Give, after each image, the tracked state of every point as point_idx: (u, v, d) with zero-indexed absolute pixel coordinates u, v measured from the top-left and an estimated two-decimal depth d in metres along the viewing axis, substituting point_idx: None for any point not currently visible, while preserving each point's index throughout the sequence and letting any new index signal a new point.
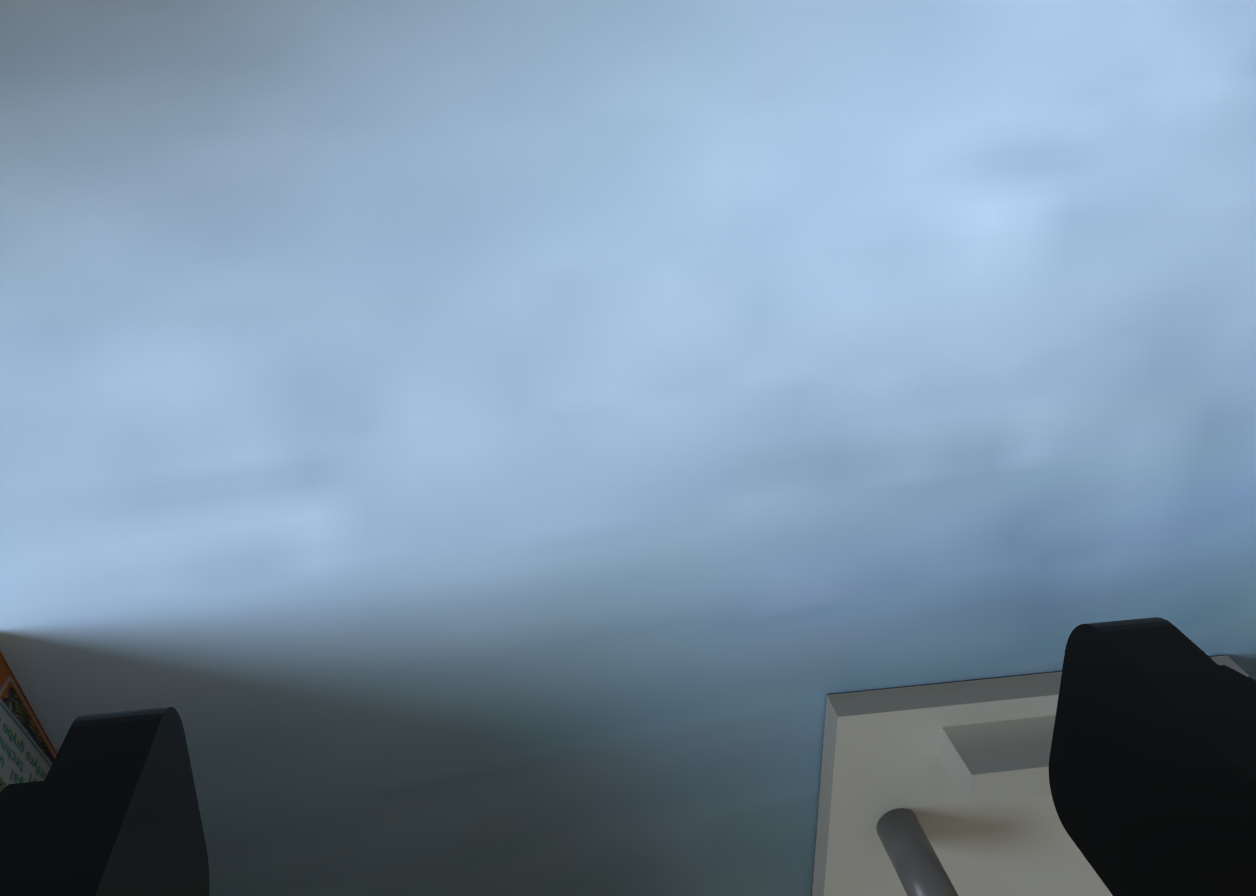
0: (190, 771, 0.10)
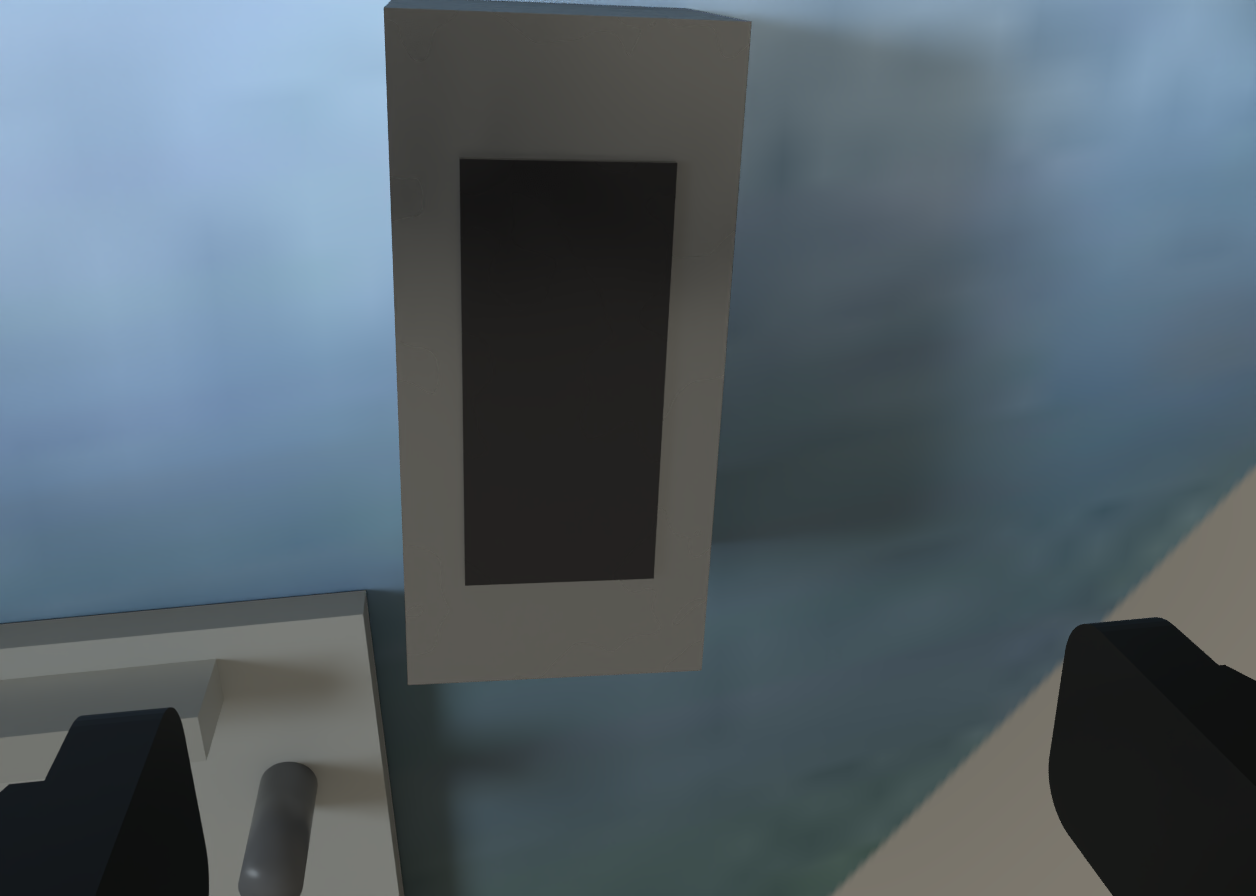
0: (190, 771, 0.10)
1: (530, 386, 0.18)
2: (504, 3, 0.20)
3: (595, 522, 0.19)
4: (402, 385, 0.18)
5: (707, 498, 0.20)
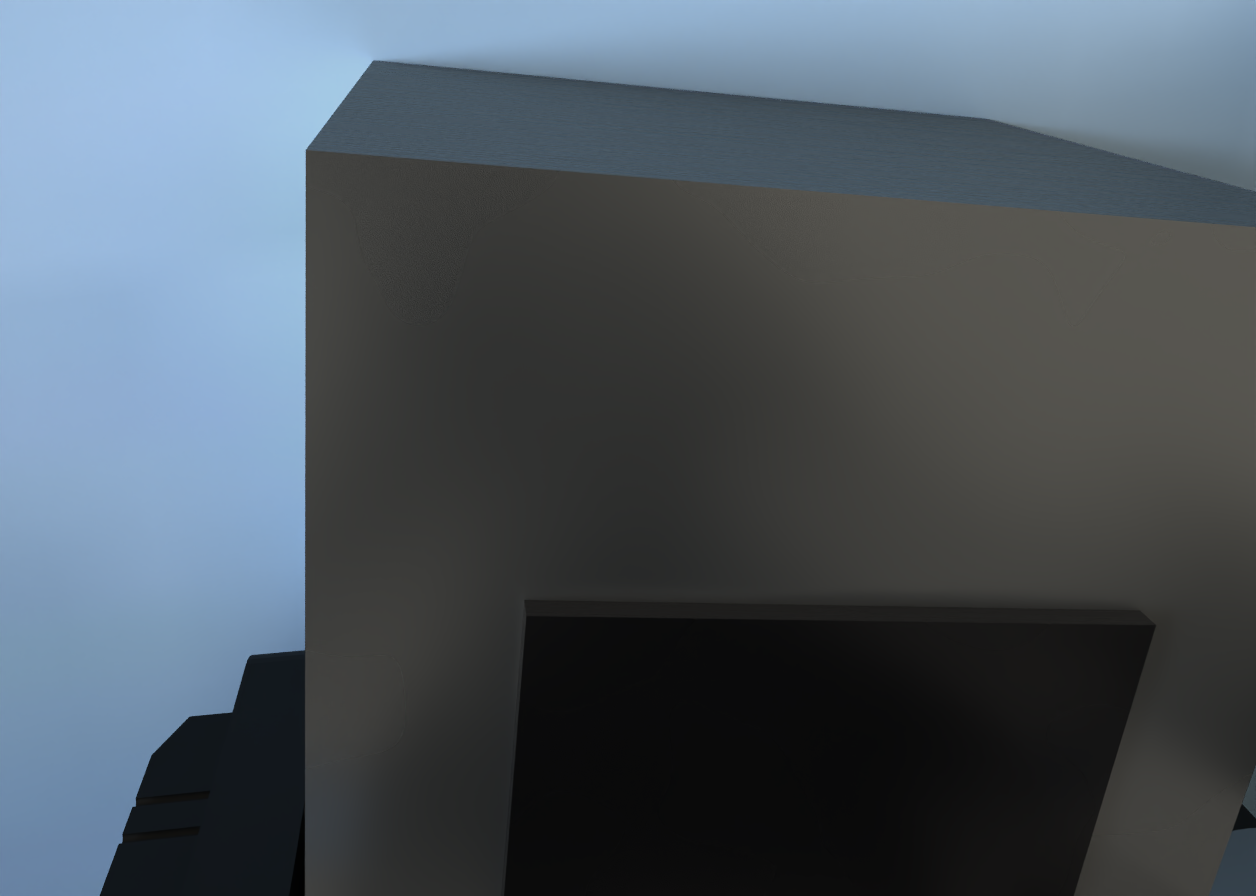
0: None
1: None
2: (631, 101, 0.08)
3: None
4: None
5: None
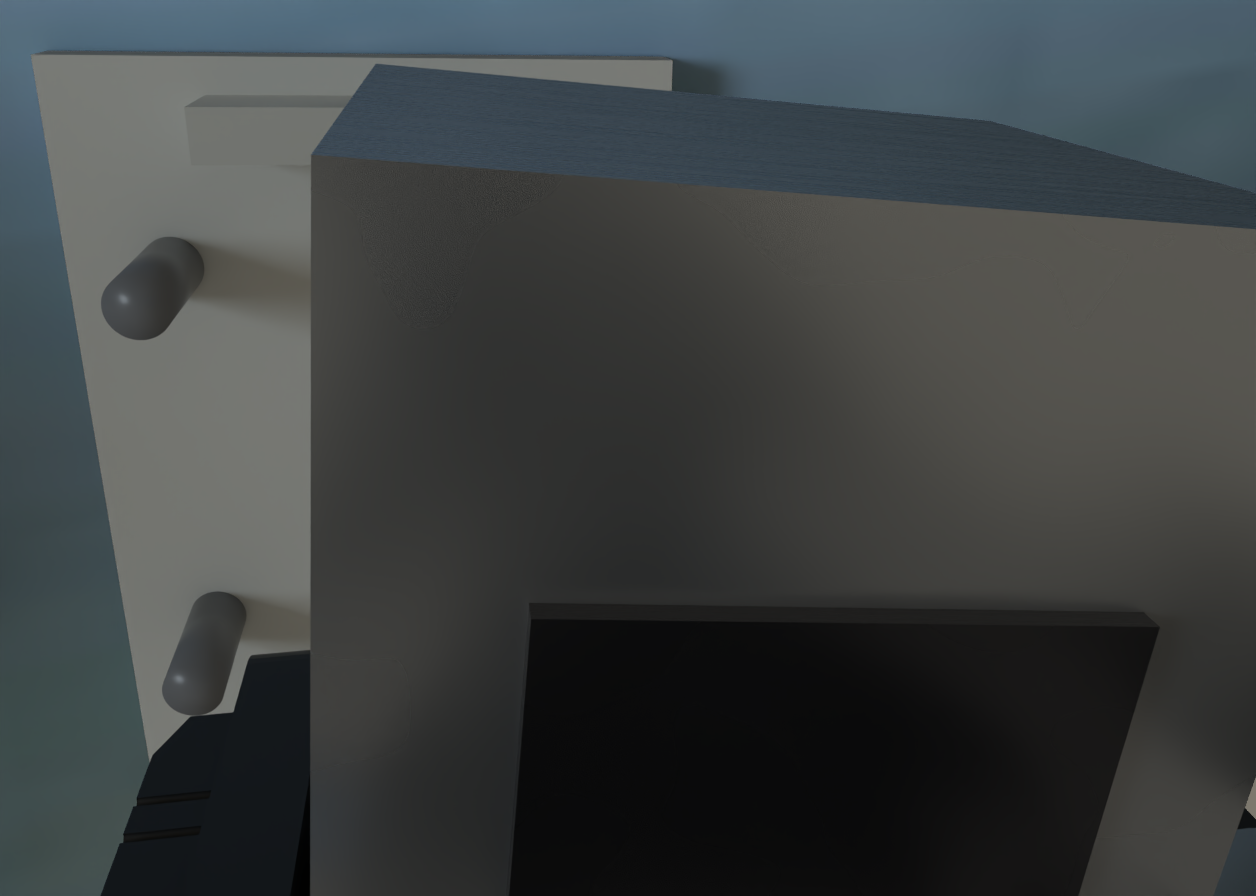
0: None
1: None
2: (634, 104, 0.08)
3: None
4: None
5: None
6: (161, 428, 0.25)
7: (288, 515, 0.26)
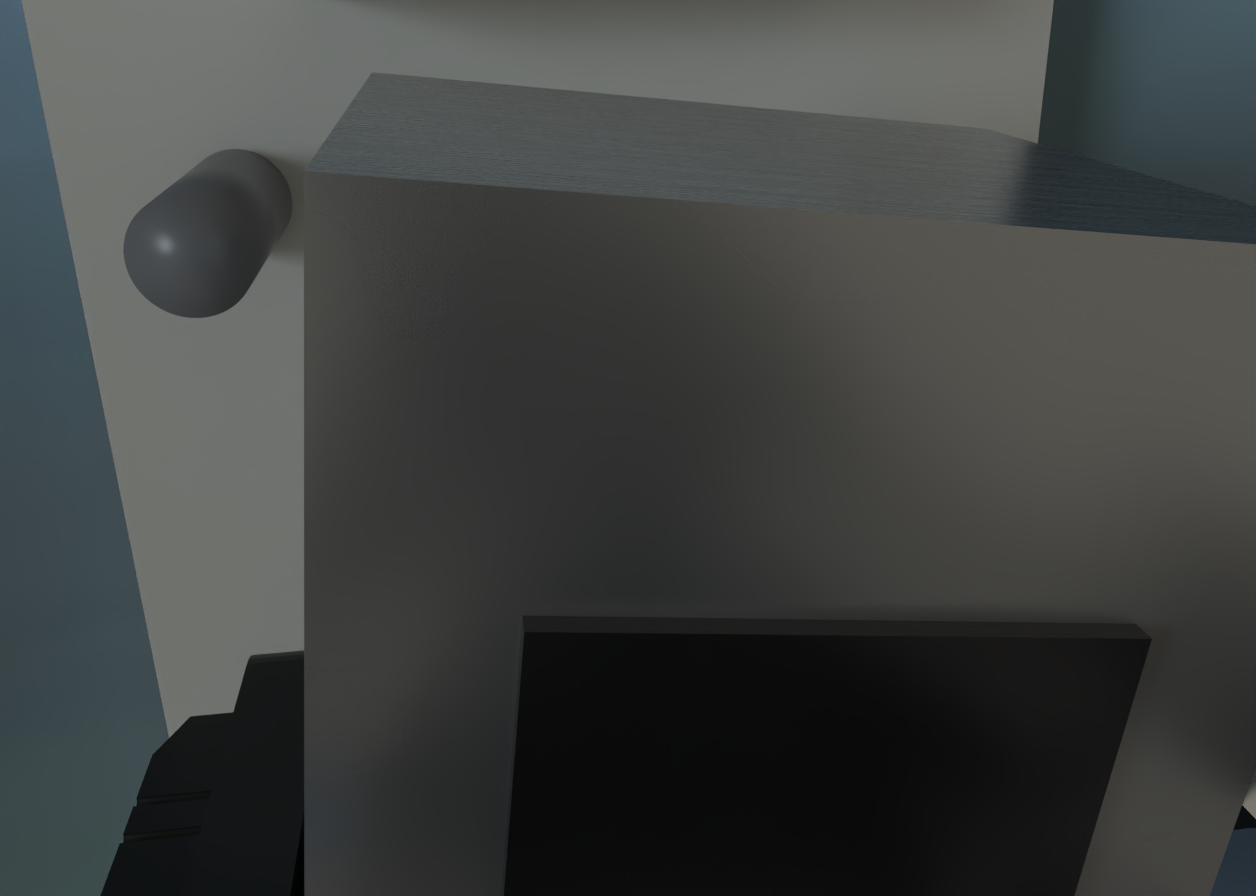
0: None
1: None
2: (629, 113, 0.08)
3: None
4: None
5: None
6: (225, 471, 0.15)
7: None
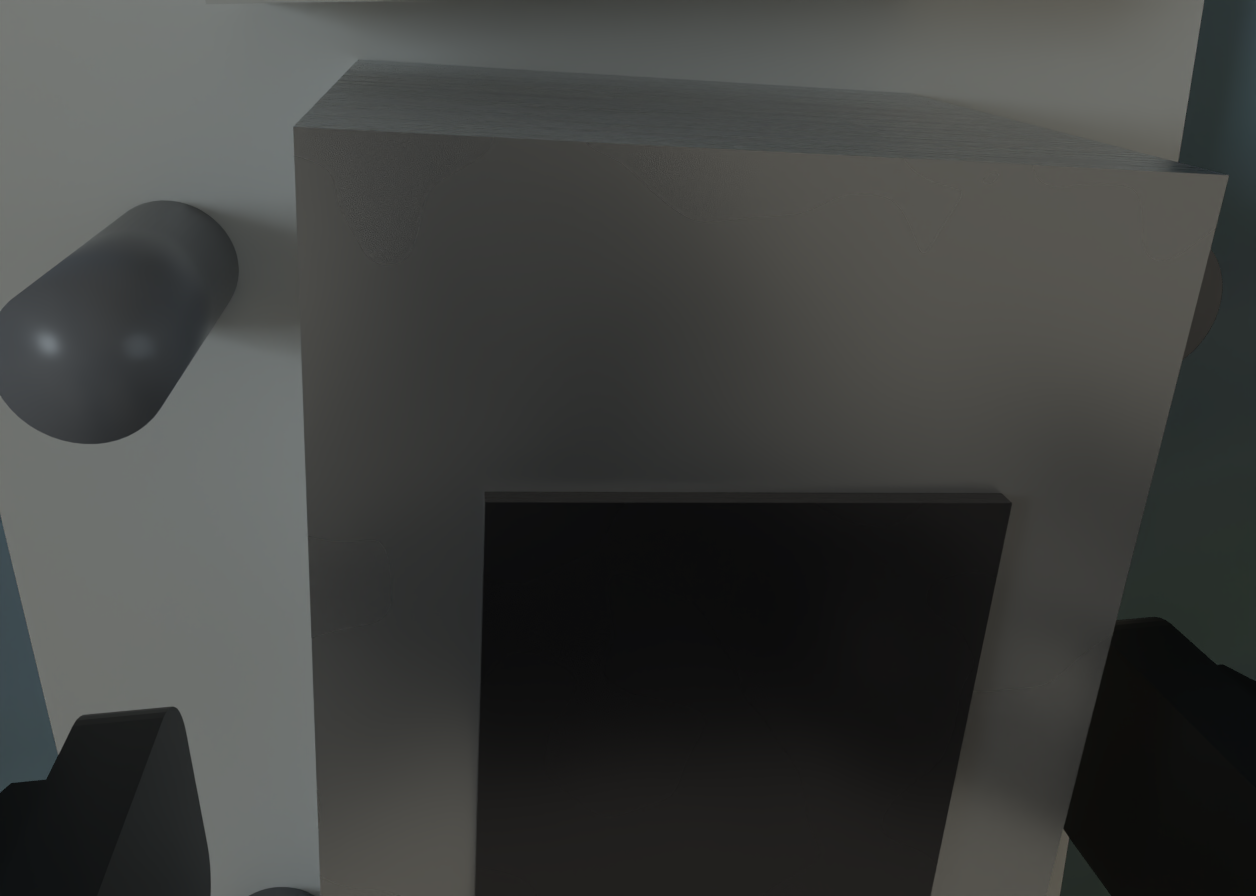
0: (192, 770, 0.10)
1: None
2: (580, 86, 0.09)
3: None
4: None
5: None
6: (159, 596, 0.12)
7: None
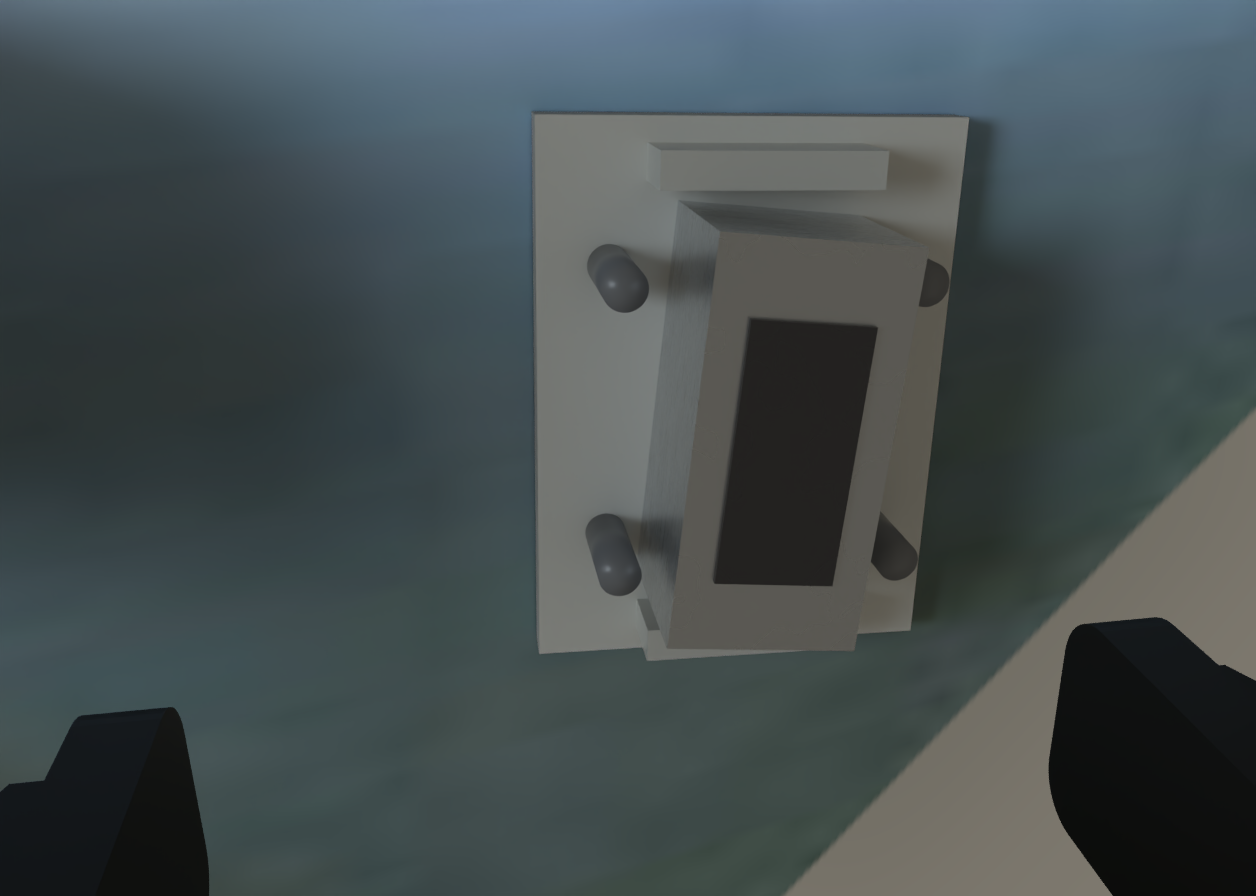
0: (190, 771, 0.10)
1: (773, 458, 0.29)
2: (757, 214, 0.31)
3: (801, 547, 0.30)
4: (695, 453, 0.29)
5: (871, 535, 0.31)
6: (584, 386, 0.33)
7: None
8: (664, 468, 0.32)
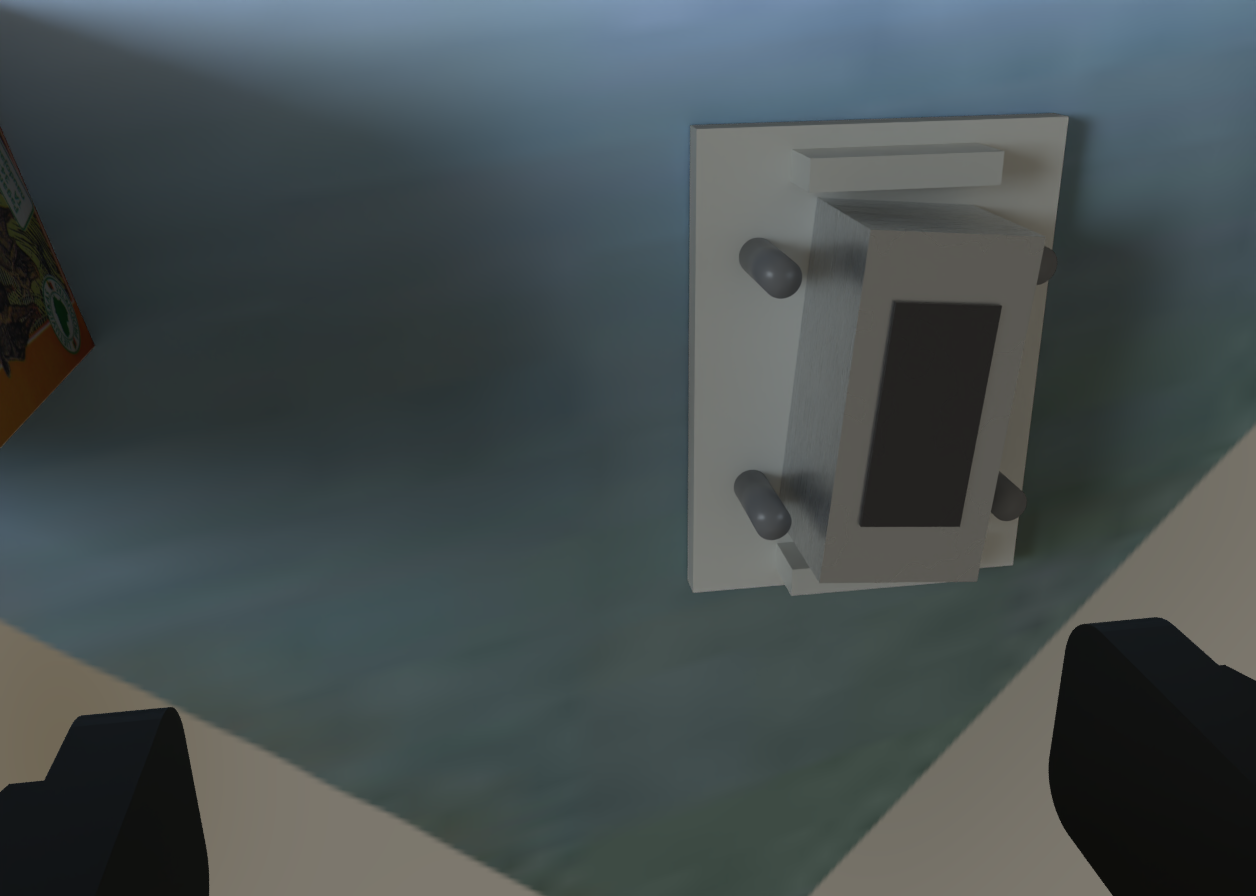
0: (190, 771, 0.10)
1: (912, 419, 0.34)
2: (889, 208, 0.36)
3: (934, 494, 0.35)
4: (846, 416, 0.34)
5: (992, 482, 0.36)
6: (734, 360, 0.38)
7: None
8: (809, 429, 0.37)
